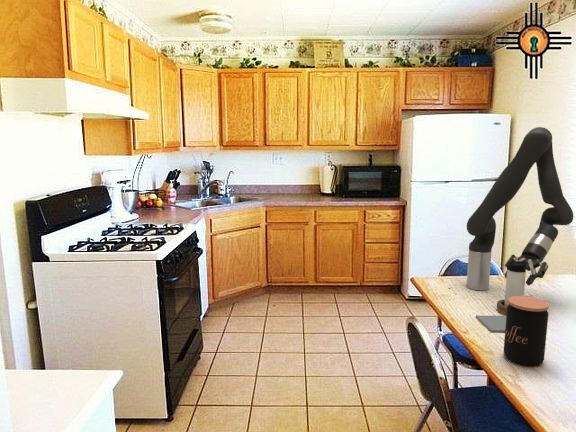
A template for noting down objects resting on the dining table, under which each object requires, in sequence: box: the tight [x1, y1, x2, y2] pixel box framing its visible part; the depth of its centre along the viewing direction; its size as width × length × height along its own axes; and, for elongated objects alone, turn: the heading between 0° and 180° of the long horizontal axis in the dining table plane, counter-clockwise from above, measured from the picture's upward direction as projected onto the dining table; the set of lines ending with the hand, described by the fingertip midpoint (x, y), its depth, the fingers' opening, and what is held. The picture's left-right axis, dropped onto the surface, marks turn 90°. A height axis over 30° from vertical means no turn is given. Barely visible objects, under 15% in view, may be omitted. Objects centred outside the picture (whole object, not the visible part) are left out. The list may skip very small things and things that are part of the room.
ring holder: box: [496, 298, 507, 316], centre depth 165 cm, size 11×11×3 cm
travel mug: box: [504, 260, 528, 307], centre depth 163 cm, size 6×7×20 cm
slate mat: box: [475, 315, 506, 334], centre depth 153 cm, size 13×13×1 cm
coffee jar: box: [503, 295, 550, 368], centre depth 127 cm, size 11×11×18 cm
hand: (516, 281), depth 163 cm, fingers open, 8 cm apart
